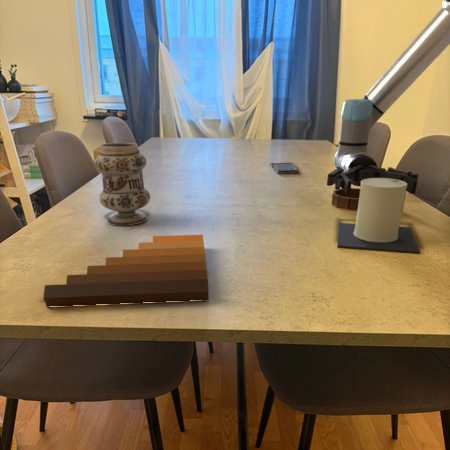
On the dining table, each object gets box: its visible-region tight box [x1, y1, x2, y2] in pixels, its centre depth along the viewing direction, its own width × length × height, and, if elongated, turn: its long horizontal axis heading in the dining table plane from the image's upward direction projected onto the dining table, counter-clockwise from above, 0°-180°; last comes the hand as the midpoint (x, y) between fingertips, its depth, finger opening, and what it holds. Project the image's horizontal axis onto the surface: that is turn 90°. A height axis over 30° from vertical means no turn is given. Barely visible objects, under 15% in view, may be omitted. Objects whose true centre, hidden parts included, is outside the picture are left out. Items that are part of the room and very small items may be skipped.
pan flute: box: [42, 234, 210, 308], centre depth 77 cm, size 25×3×25 cm
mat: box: [336, 222, 421, 255], centre depth 94 cm, size 16×16×1 cm
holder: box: [331, 187, 407, 212], centre depth 117 cm, size 19×13×8 cm
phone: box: [271, 162, 299, 175], centre depth 163 cm, size 8×1×15 cm
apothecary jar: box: [94, 142, 151, 226], centre depth 103 cm, size 12×12×18 cm
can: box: [354, 178, 407, 243], centre depth 91 cm, size 9×9×12 cm
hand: (381, 187), depth 91 cm, fingers open, 13 cm apart
